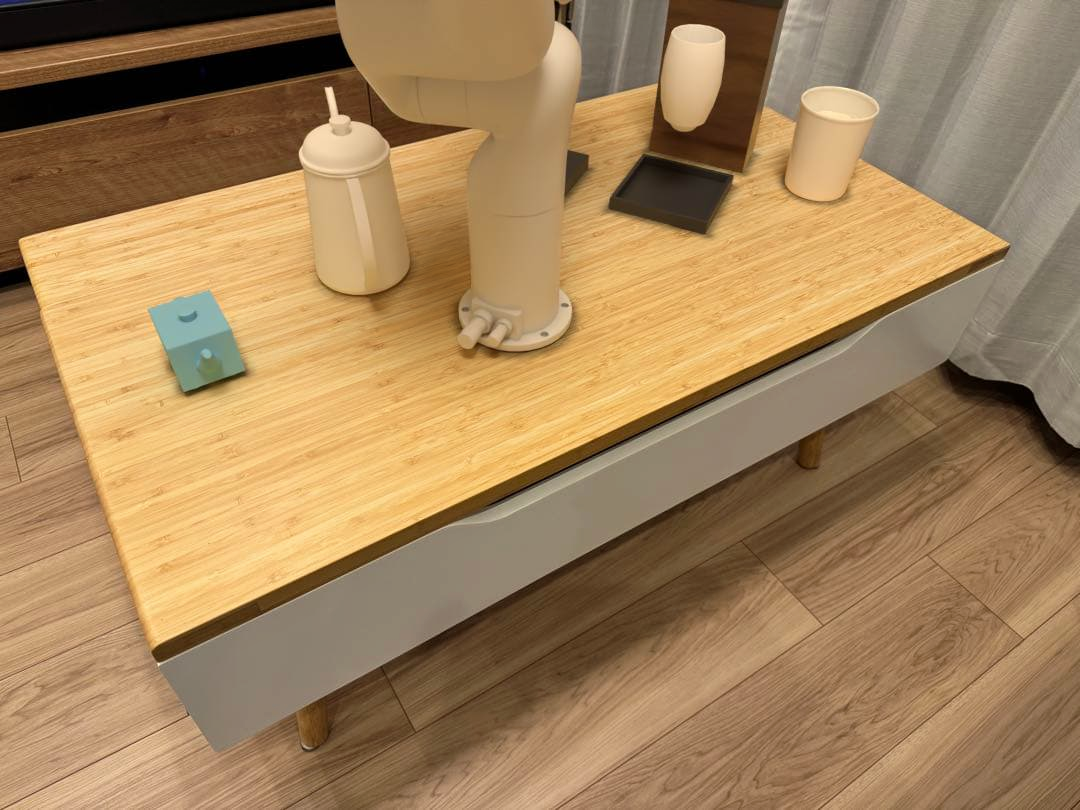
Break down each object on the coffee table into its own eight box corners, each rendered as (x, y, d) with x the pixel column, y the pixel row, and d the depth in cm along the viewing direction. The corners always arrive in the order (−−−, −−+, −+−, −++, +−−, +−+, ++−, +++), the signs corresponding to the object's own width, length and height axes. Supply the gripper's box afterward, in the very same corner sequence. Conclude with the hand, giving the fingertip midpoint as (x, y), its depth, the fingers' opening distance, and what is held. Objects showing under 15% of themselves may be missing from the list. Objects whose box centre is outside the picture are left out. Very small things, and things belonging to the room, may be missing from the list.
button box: (553, 209, 102) (555, 182, 100) (486, 191, 105) (485, 164, 102) (588, 169, 110) (590, 142, 107) (524, 153, 113) (524, 127, 110)
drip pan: (705, 234, 99) (707, 222, 98) (608, 209, 103) (609, 197, 102) (731, 186, 108) (734, 174, 106) (641, 164, 111) (642, 153, 110)
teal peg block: (258, 397, 77) (239, 339, 72) (196, 420, 75) (171, 362, 69) (222, 329, 84) (202, 272, 79) (164, 349, 82) (139, 291, 76)
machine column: (743, 174, 110) (784, -5, 93) (647, 151, 114) (670, -25, 97) (753, 154, 114) (795, -21, 98) (660, 133, 118) (685, -39, 101)
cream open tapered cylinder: (807, 211, 104) (834, 125, 95) (764, 176, 110) (785, 92, 101) (865, 196, 107) (896, 112, 98) (820, 163, 113) (845, 81, 104)
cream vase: (654, 210, 102) (678, 47, 87) (638, 182, 107) (658, 24, 92) (707, 205, 103) (739, 44, 88) (688, 178, 108) (716, 21, 93)
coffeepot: (391, 207, 102) (372, 62, 88) (430, 325, 85) (415, 168, 72) (306, 219, 99) (274, 71, 86) (330, 343, 83) (294, 184, 69)
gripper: (568, -111, 72) (559, 87, 85) (622, -137, 82) (606, 43, 95) (496, -120, 74) (497, 74, 87) (557, -145, 84) (550, 33, 97)
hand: (554, 58), depth 91 cm, fingers closed
